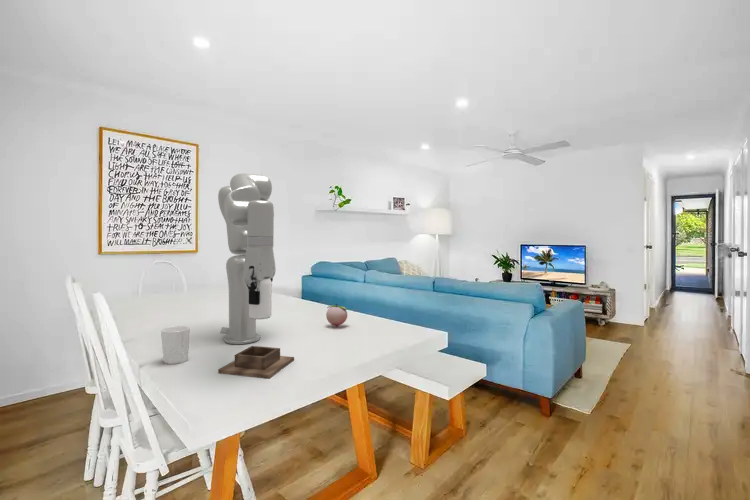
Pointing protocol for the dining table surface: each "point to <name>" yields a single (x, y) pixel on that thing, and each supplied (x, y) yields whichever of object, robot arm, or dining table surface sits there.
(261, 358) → the box
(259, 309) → the can
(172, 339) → the white cup
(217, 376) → the dining table surface
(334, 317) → the decorative fruit
